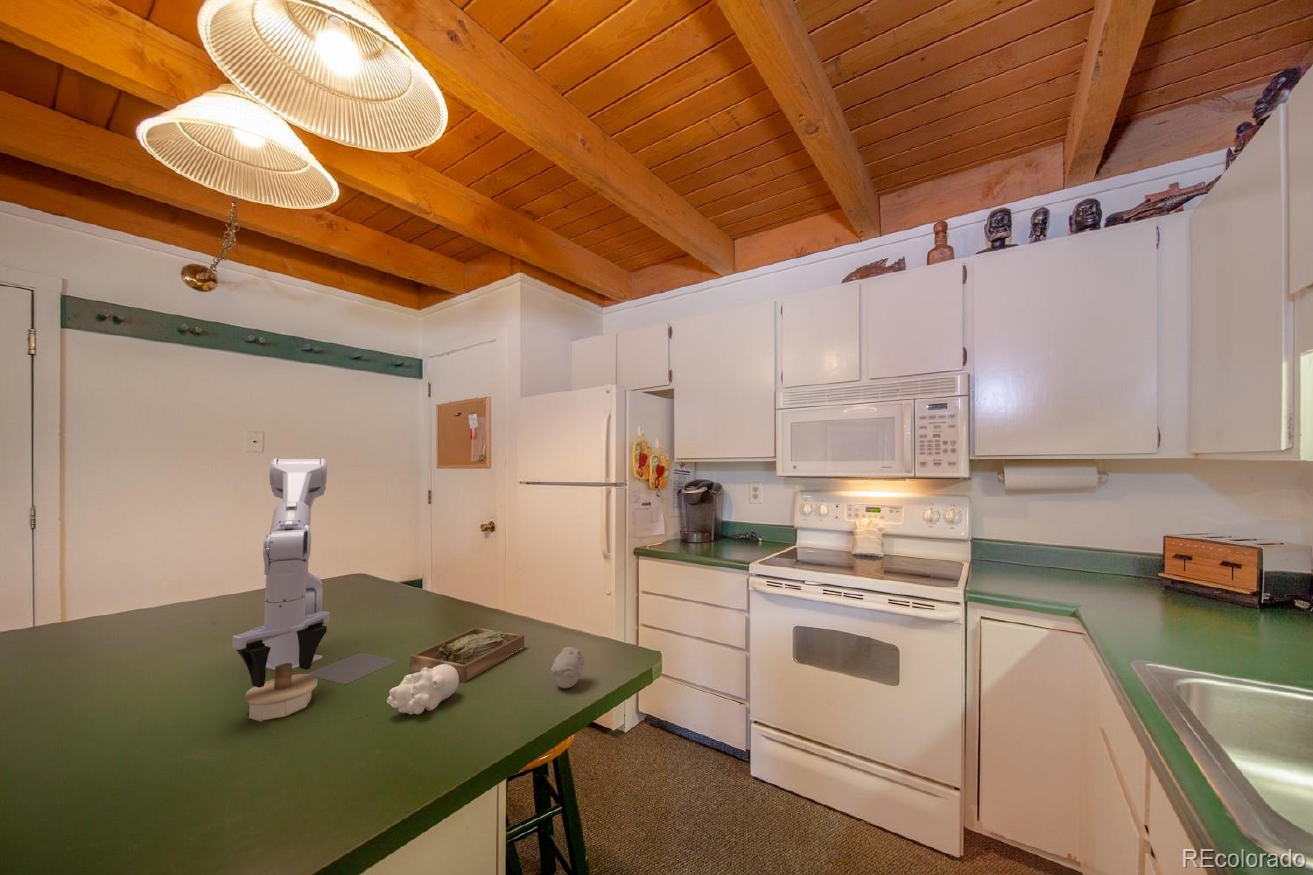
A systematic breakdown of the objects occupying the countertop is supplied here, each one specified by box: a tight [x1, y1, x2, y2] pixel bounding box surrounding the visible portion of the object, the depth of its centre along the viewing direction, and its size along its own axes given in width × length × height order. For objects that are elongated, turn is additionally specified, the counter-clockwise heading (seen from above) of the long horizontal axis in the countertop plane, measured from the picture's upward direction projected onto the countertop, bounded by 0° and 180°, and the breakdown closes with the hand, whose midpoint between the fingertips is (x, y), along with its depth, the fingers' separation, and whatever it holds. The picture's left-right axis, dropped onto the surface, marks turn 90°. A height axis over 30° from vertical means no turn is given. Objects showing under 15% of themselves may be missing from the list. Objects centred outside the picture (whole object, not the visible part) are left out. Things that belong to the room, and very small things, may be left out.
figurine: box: [386, 664, 459, 716], centre depth 84 cm, size 7×7×12 cm
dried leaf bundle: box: [438, 629, 507, 665], centre depth 105 cm, size 14×10×5 cm, turn 140°
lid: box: [244, 663, 319, 706], centre depth 84 cm, size 10×10×4 cm
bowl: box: [248, 690, 313, 722], centre depth 84 cm, size 8×8×3 cm
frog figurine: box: [550, 646, 585, 689], centre depth 92 cm, size 6×7×7 cm
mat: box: [305, 652, 400, 685], centre depth 100 cm, size 12×12×1 cm
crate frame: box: [409, 627, 525, 683], centre depth 105 cm, size 15×19×3 cm
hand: (282, 676), depth 84 cm, fingers open, 7 cm apart
